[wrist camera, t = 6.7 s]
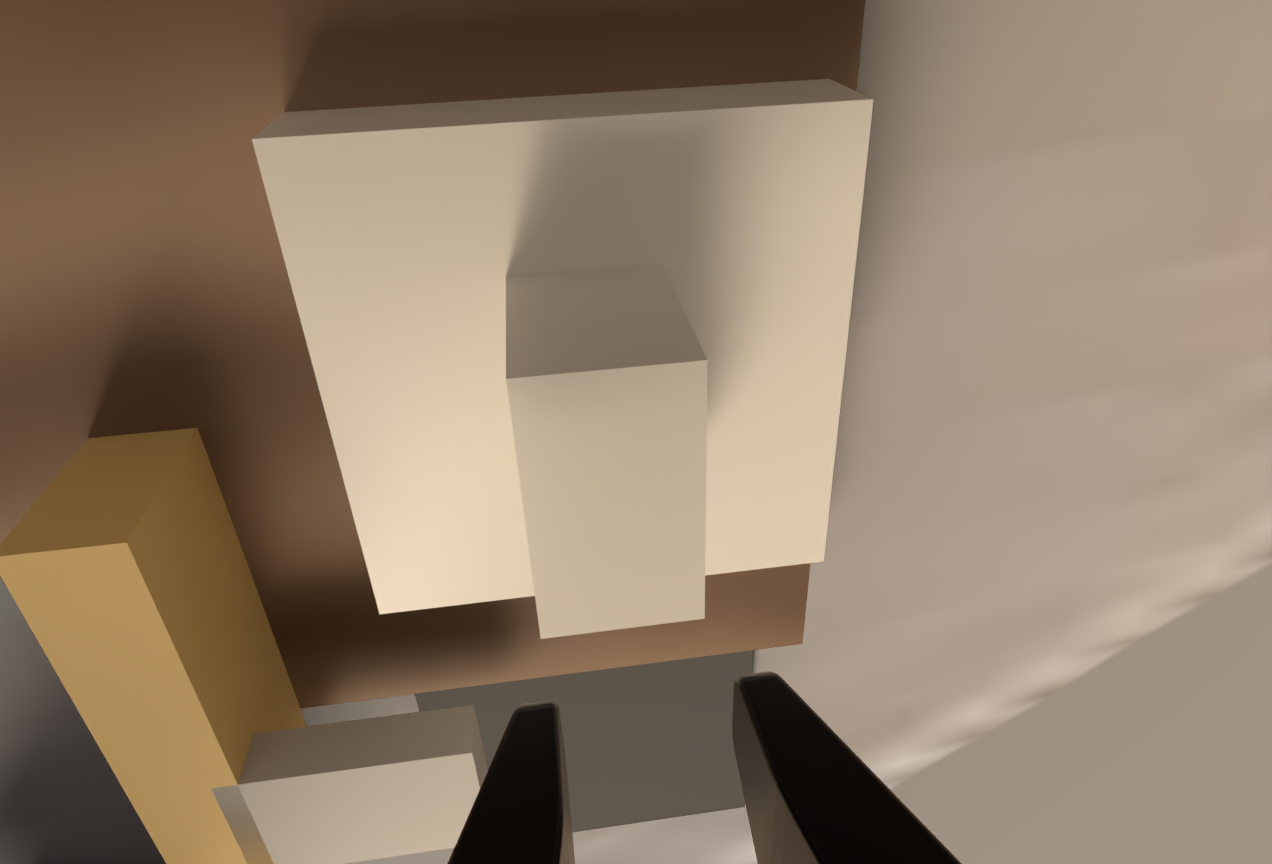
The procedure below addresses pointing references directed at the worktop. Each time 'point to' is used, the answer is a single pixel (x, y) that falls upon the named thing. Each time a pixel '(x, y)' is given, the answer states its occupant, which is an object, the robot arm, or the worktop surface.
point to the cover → (578, 335)
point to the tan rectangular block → (214, 676)
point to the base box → (261, 290)
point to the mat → (629, 735)
